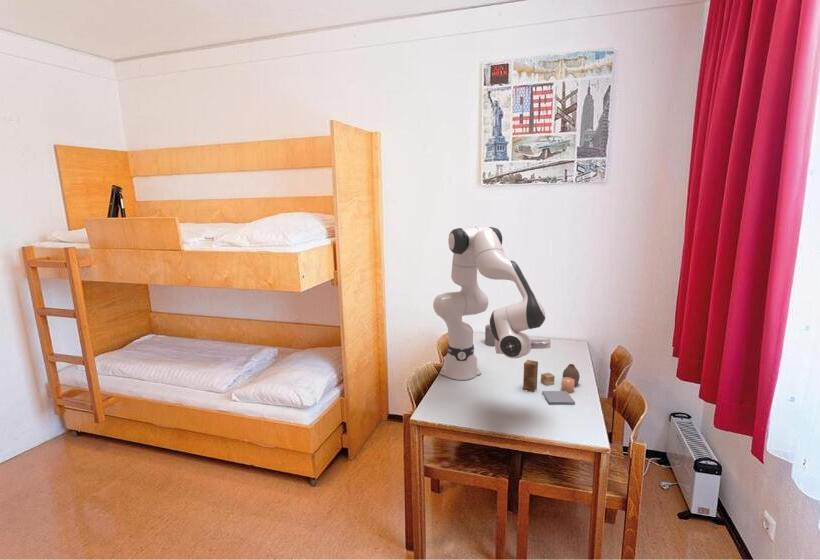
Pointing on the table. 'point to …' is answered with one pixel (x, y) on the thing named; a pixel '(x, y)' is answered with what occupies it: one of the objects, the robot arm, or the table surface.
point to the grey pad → (558, 398)
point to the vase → (572, 373)
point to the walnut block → (530, 375)
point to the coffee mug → (489, 336)
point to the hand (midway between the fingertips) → (525, 343)
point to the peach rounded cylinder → (568, 384)
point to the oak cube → (547, 379)
